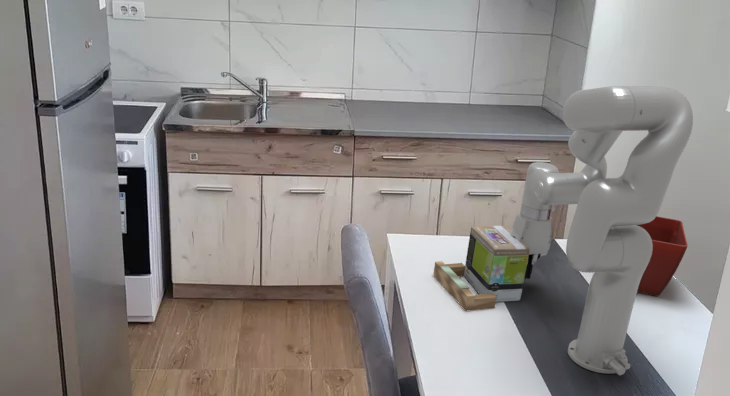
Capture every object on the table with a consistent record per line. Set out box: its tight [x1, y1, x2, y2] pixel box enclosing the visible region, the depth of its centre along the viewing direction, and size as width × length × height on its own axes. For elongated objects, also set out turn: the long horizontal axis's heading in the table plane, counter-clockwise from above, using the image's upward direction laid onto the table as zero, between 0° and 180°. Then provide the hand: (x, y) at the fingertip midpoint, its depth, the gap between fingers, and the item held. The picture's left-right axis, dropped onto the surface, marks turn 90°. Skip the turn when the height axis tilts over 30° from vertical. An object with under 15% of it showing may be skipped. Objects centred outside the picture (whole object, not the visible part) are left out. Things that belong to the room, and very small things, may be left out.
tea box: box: [463, 225, 530, 303], centre depth 179 cm, size 15×10×15 cm, turn 15°
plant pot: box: [637, 215, 689, 297], centre depth 189 cm, size 19×19×17 cm
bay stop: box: [433, 260, 497, 312], centre depth 178 cm, size 19×8×4 cm, turn 19°
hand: (524, 276), depth 182 cm, fingers closed
